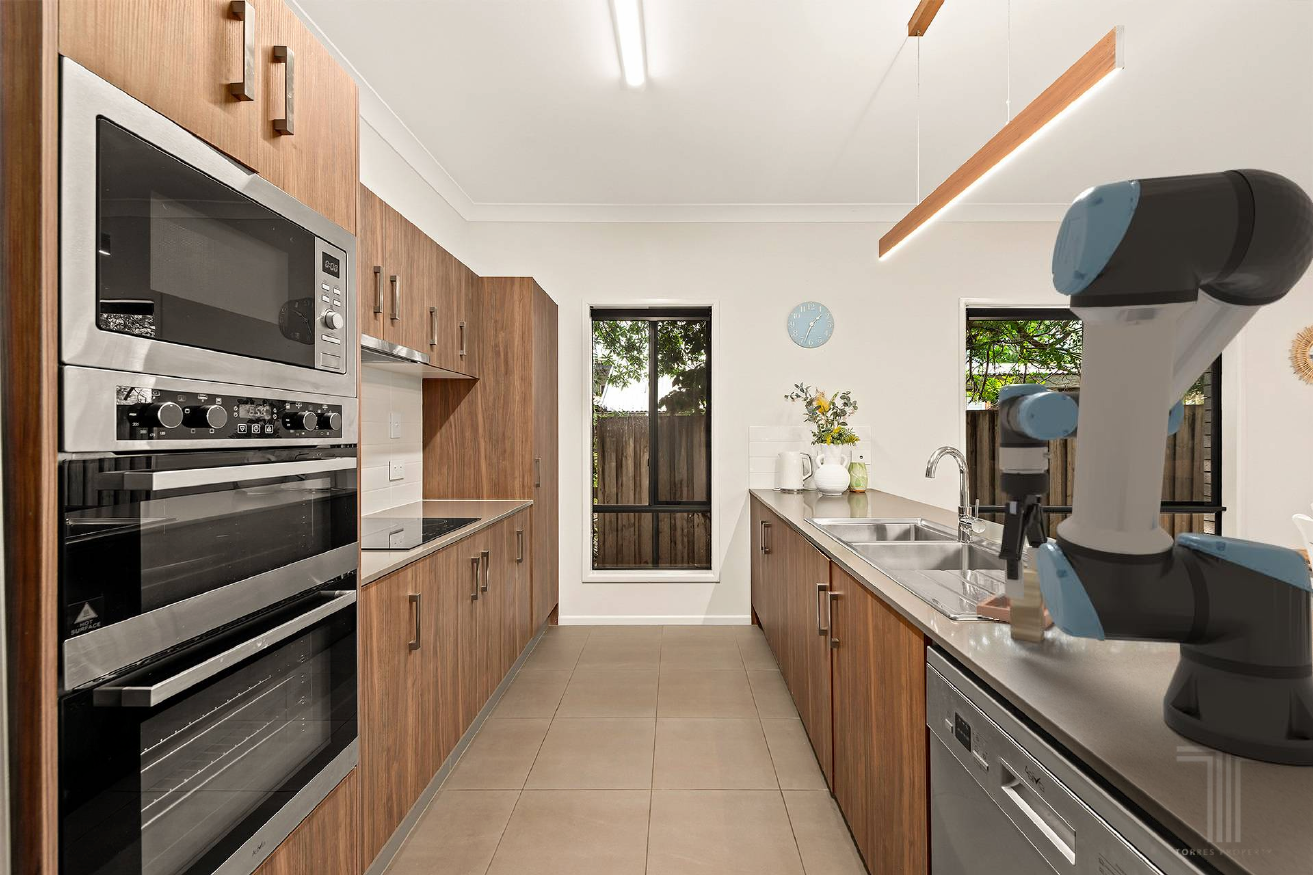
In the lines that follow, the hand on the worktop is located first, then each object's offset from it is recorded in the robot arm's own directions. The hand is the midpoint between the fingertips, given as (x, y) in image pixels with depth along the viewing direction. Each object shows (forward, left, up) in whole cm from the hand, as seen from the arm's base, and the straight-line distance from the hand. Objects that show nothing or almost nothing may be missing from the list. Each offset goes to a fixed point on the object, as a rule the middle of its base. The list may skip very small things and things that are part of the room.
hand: (1025, 590), depth 114 cm
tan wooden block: (0, 0, -8) cm, 8 cm away
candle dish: (+14, +5, -8) cm, 17 cm away
